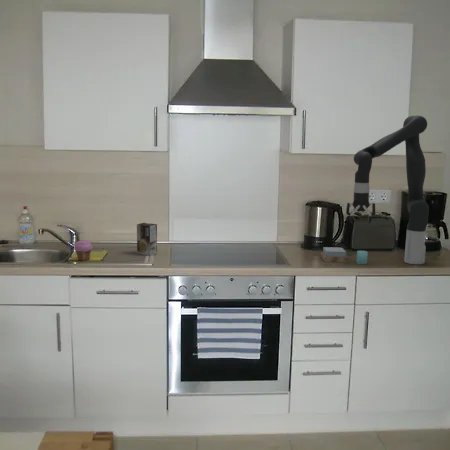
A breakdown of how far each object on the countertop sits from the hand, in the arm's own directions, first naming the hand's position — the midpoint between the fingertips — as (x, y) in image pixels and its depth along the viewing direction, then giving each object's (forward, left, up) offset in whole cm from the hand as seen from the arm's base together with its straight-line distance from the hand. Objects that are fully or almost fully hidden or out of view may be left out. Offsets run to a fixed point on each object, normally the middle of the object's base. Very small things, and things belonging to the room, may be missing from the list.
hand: (360, 223), depth 276 cm
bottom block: (+11, -7, -21) cm, 25 cm away
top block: (+11, -7, -18) cm, 22 cm away
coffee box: (+110, -13, -21) cm, 113 cm away
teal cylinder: (-2, 0, -21) cm, 21 cm away
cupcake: (+140, +3, -21) cm, 142 cm away
